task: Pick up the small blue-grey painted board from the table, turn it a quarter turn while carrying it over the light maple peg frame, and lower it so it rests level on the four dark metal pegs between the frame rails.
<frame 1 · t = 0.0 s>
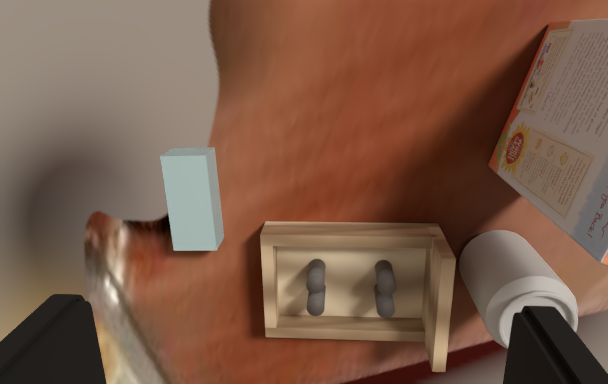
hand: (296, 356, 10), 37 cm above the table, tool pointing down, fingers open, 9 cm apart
board: (199, 193, 49), on the table
peg frame: (349, 273, 51), on the table
can: (492, 258, 49), on the table
cracker box: (544, 105, 44), on the table
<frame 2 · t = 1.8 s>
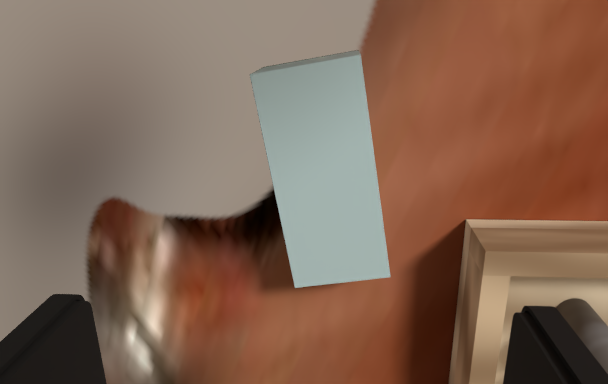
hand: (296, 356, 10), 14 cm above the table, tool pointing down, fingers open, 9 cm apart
board: (327, 160, 23), on the table
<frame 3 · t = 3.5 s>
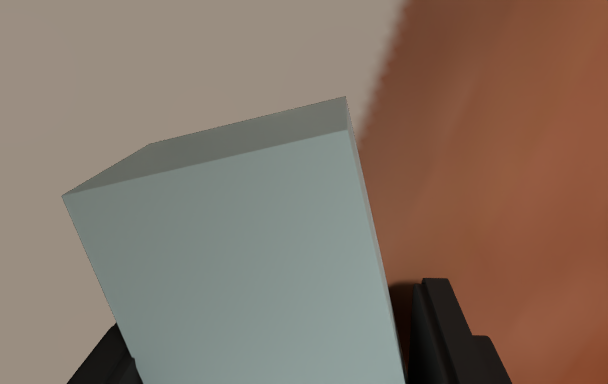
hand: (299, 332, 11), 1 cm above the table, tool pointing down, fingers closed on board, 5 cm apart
board: (300, 314, 12), on the table, touching gripper
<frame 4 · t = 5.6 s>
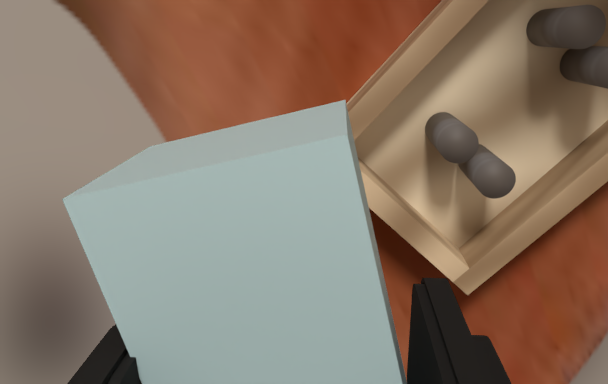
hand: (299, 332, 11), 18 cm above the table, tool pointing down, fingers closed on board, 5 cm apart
board: (299, 316, 12), point 17 cm above the table, touching gripper
peg frame: (501, 94, 26), on the table
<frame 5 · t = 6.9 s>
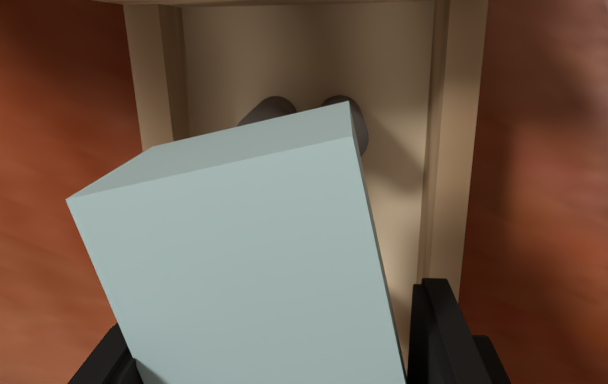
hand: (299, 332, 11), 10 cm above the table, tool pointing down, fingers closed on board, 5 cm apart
board: (301, 317, 12), point 10 cm above the table, touching gripper
peg frame: (310, 191, 21), on the table
when the fingers open (6 cm above the table, at t = 8.1 s): board stays where it is, resting on peg frame.
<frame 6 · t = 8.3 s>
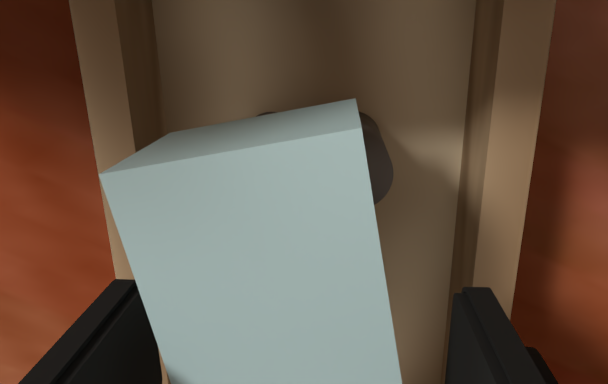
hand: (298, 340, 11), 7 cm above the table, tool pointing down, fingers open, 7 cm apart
board: (301, 299, 12), point 5 cm above the table, touching peg frame
peg frame: (314, 226, 17), on the table
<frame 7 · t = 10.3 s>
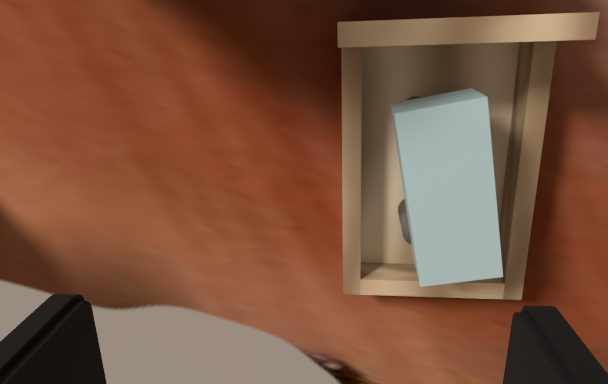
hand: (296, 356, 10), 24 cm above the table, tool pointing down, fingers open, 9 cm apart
board: (440, 179, 28), point 5 cm above the table, touching peg frame
peg frame: (430, 157, 32), on the table
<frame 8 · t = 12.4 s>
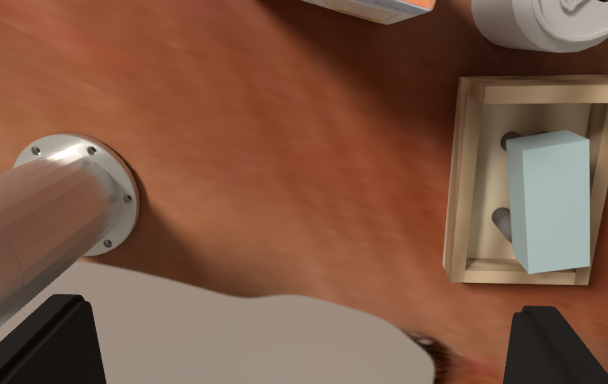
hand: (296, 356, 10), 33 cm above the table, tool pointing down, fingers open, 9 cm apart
board: (538, 194, 38), point 5 cm above the table, touching peg frame
peg frame: (517, 176, 42), on the table
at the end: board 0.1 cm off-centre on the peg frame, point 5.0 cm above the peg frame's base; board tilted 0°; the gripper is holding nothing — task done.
